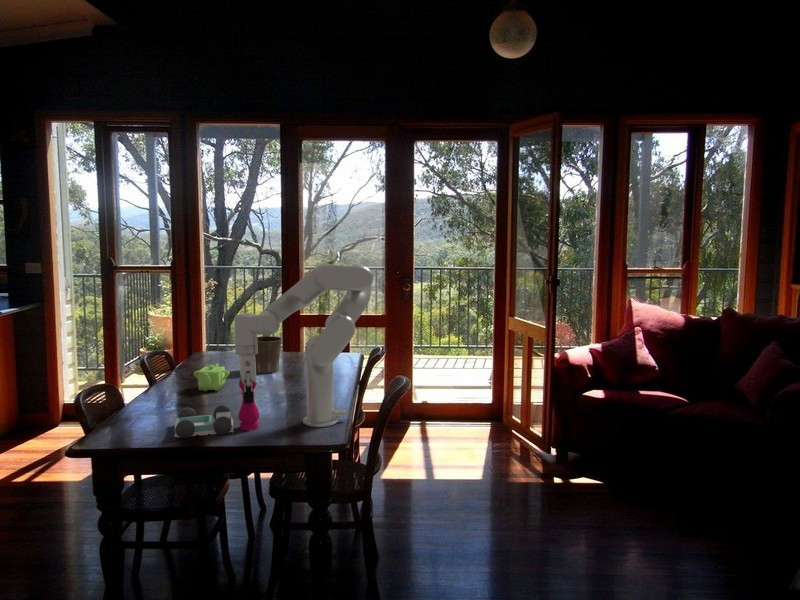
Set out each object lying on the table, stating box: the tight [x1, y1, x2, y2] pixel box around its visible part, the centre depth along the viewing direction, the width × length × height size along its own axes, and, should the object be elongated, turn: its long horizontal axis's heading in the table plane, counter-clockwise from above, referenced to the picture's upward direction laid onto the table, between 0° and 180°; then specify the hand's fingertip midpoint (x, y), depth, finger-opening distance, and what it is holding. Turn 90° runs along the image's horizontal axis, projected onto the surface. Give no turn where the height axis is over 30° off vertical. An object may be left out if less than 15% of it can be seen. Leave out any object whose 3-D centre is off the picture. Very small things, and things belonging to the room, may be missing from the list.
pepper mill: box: [237, 378, 261, 431], centre depth 220 cm, size 7×7×20 cm
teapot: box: [193, 363, 231, 392], centre depth 273 cm, size 15×13×11 cm
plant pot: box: [255, 335, 283, 375], centre depth 306 cm, size 16×16×16 cm
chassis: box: [174, 404, 234, 439], centre depth 219 cm, size 19×16×6 cm
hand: (248, 400), depth 220 cm, fingers closed on pepper mill, 5 cm apart
